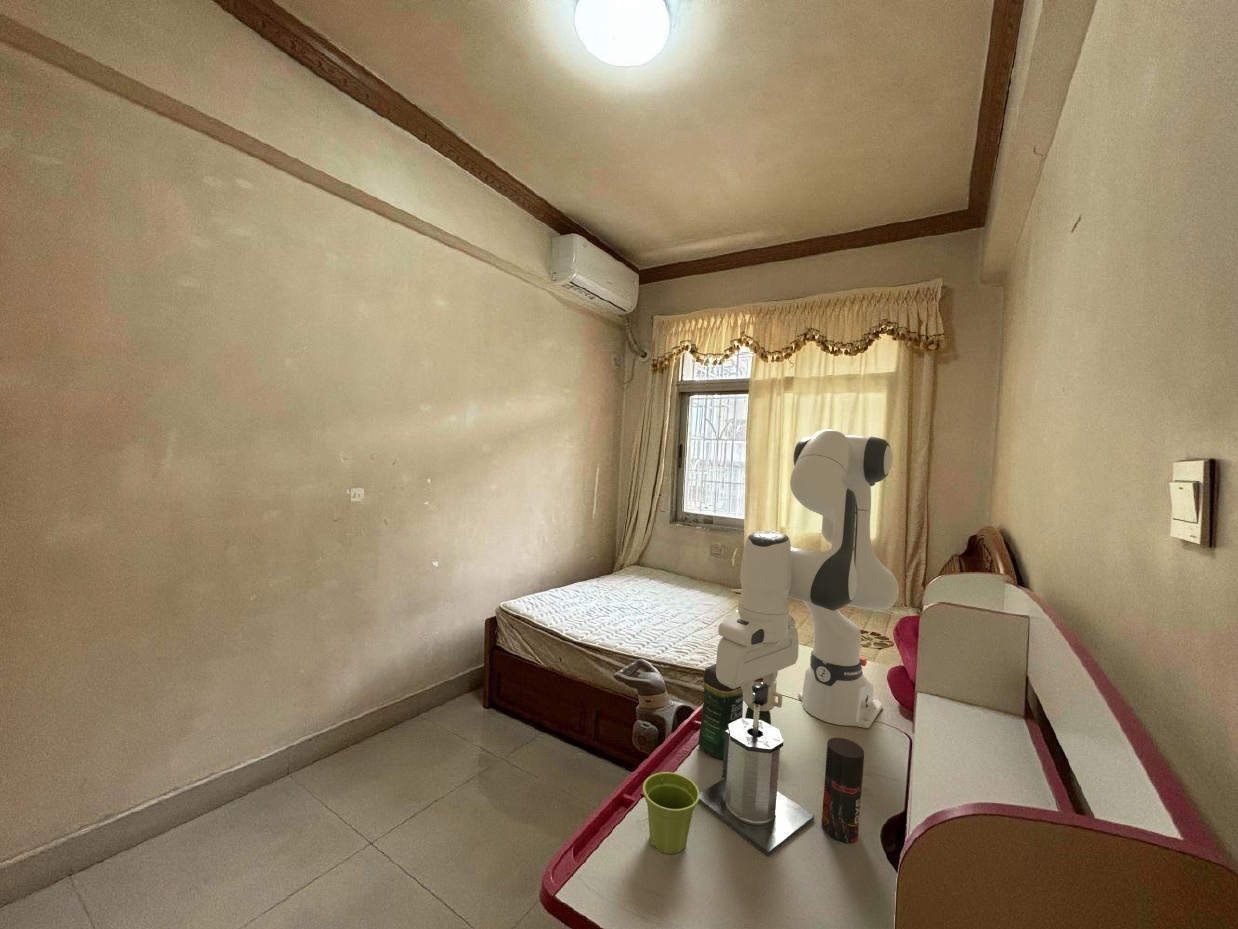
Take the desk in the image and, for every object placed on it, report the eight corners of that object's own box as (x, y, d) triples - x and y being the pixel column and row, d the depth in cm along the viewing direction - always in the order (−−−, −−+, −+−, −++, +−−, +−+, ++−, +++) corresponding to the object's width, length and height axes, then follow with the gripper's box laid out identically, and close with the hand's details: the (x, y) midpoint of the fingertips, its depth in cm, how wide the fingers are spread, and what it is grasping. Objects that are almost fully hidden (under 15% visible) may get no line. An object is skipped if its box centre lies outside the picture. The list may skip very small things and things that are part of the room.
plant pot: (639, 817, 89) (642, 769, 89) (693, 821, 89) (696, 773, 88) (640, 860, 80) (643, 807, 79) (699, 865, 79) (703, 812, 79)
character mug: (728, 728, 119) (732, 674, 119) (743, 717, 124) (746, 666, 124) (772, 749, 112) (776, 691, 111) (785, 736, 117) (789, 681, 116)
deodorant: (855, 849, 84) (862, 762, 84) (818, 833, 88) (824, 749, 87) (860, 827, 89) (866, 745, 89) (824, 813, 93) (830, 733, 92)
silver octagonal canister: (741, 772, 103) (746, 701, 103) (813, 820, 91) (819, 740, 90) (695, 799, 94) (699, 722, 94) (768, 856, 82) (774, 768, 81)
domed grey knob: (751, 751, 94) (755, 680, 93) (767, 761, 91) (772, 688, 91) (739, 758, 92) (743, 685, 91) (755, 769, 89) (760, 693, 88)
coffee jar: (721, 765, 105) (727, 678, 104) (692, 747, 111) (697, 664, 110) (748, 748, 112) (753, 666, 111) (719, 732, 117) (724, 653, 117)
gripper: (780, 608, 100) (775, 676, 100) (712, 627, 87) (707, 705, 87) (809, 617, 95) (804, 689, 95) (741, 639, 82) (736, 722, 82)
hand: (757, 697), depth 91 cm, fingers closed on domed grey knob, 4 cm apart
